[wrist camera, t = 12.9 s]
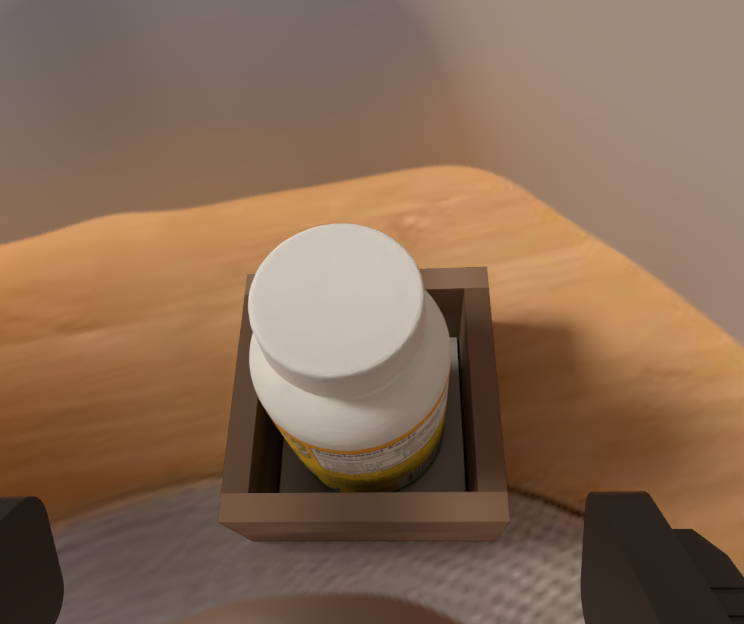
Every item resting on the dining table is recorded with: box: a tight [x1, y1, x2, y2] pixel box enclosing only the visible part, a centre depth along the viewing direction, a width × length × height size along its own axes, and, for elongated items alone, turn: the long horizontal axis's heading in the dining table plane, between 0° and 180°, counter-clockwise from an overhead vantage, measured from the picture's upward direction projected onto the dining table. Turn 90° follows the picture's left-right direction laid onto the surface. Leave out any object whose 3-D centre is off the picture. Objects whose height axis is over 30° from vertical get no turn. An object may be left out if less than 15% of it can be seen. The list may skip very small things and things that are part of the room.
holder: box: [217, 267, 510, 541], centre depth 21 cm, size 8×8×4 cm
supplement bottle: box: [248, 223, 451, 493], centre depth 18 cm, size 5×5×10 cm
